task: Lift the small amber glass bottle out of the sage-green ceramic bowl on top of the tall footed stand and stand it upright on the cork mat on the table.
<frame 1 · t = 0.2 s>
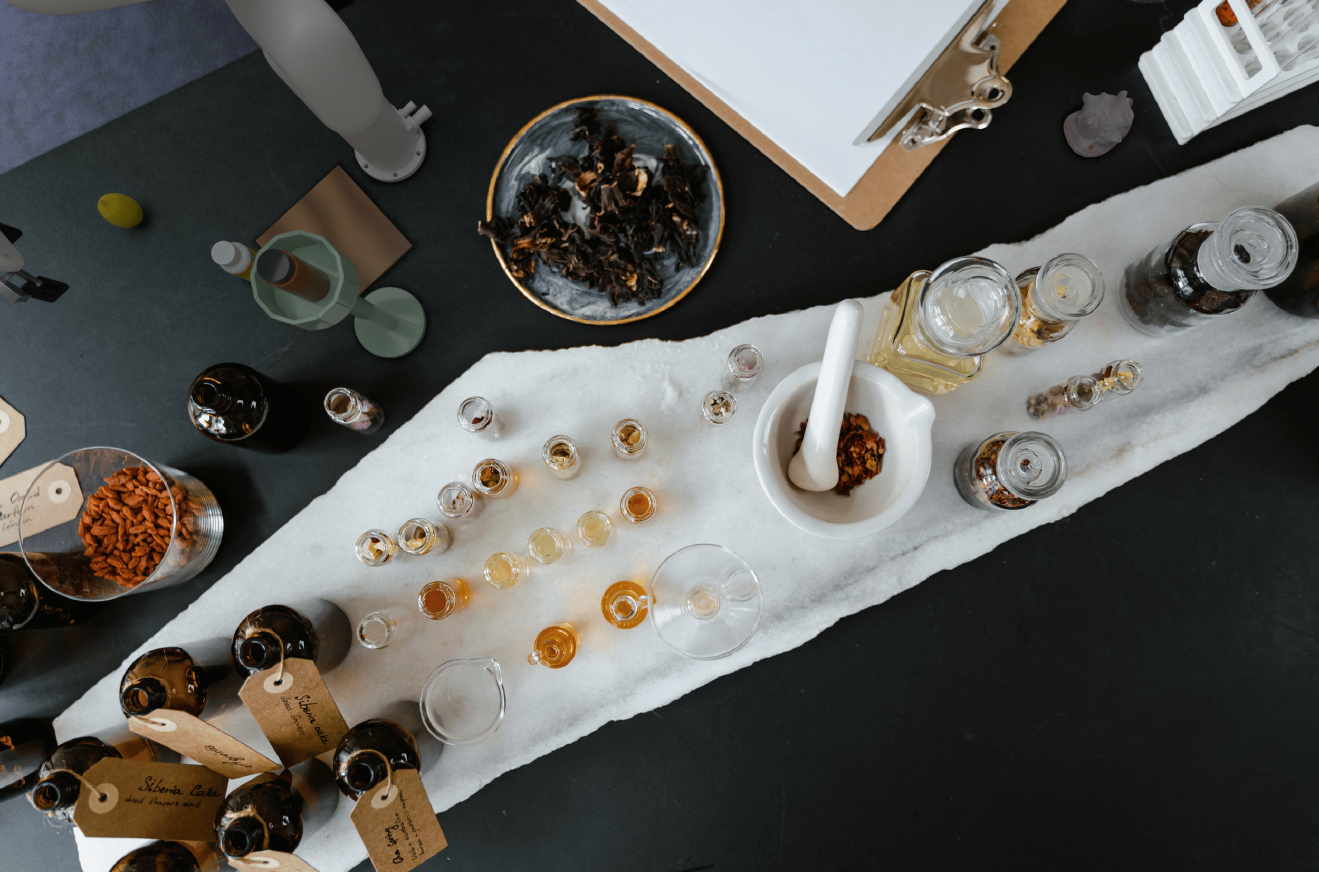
hand: (37, 266, 87), 31 cm above the table, tool pointing down, fingers open, 9 cm apart
seashell: (1094, 126, 115), on the table
supplement bottle: (260, 269, 118), on the table
fruit: (140, 219, 119), on the table
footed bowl: (391, 323, 117), on the table
amber bottle: (313, 285, 92), point 25 cm above the table, touching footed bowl
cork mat: (335, 244, 118), on the table
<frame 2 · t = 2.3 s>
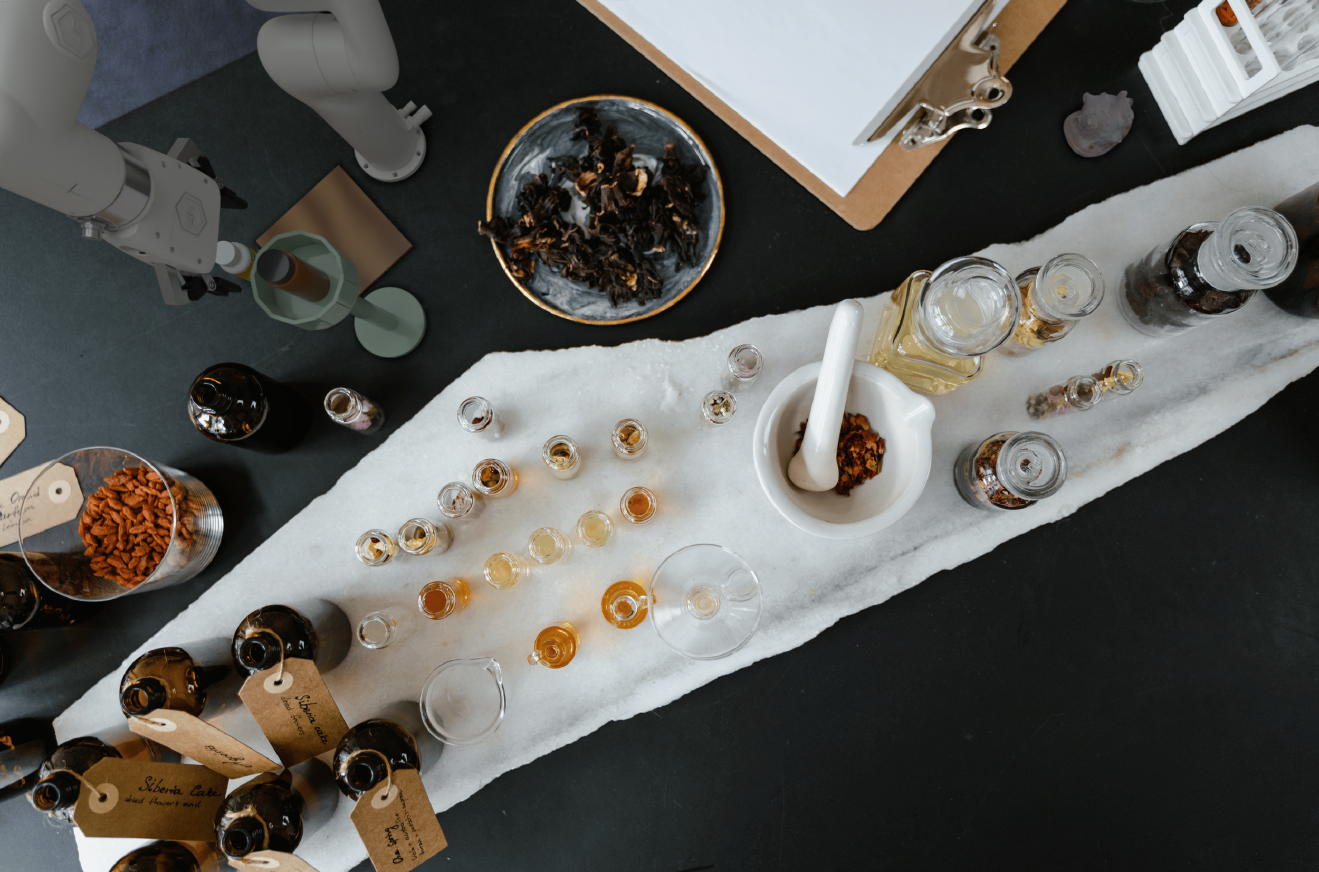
hand: (232, 247, 75), 42 cm above the table, tool pointing down, fingers open, 9 cm apart
nothing on the table moved.
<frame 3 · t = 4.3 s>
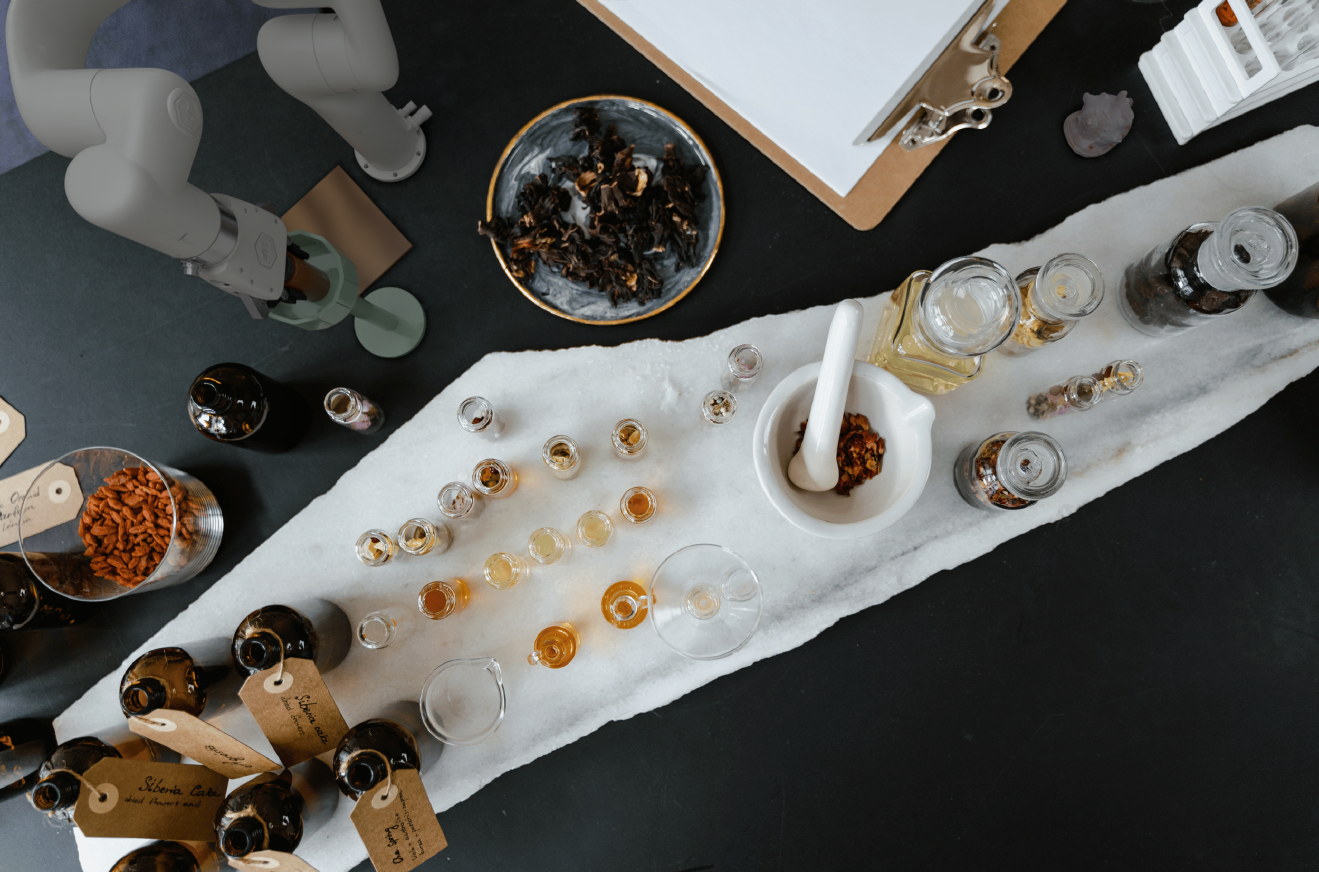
hand: (296, 276, 88), 29 cm above the table, tool pointing down, fingers closed on amber bottle, 4 cm apart
amber bottle: (313, 284, 92), point 25 cm above the table, touching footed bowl, gripper
everything else where it was.
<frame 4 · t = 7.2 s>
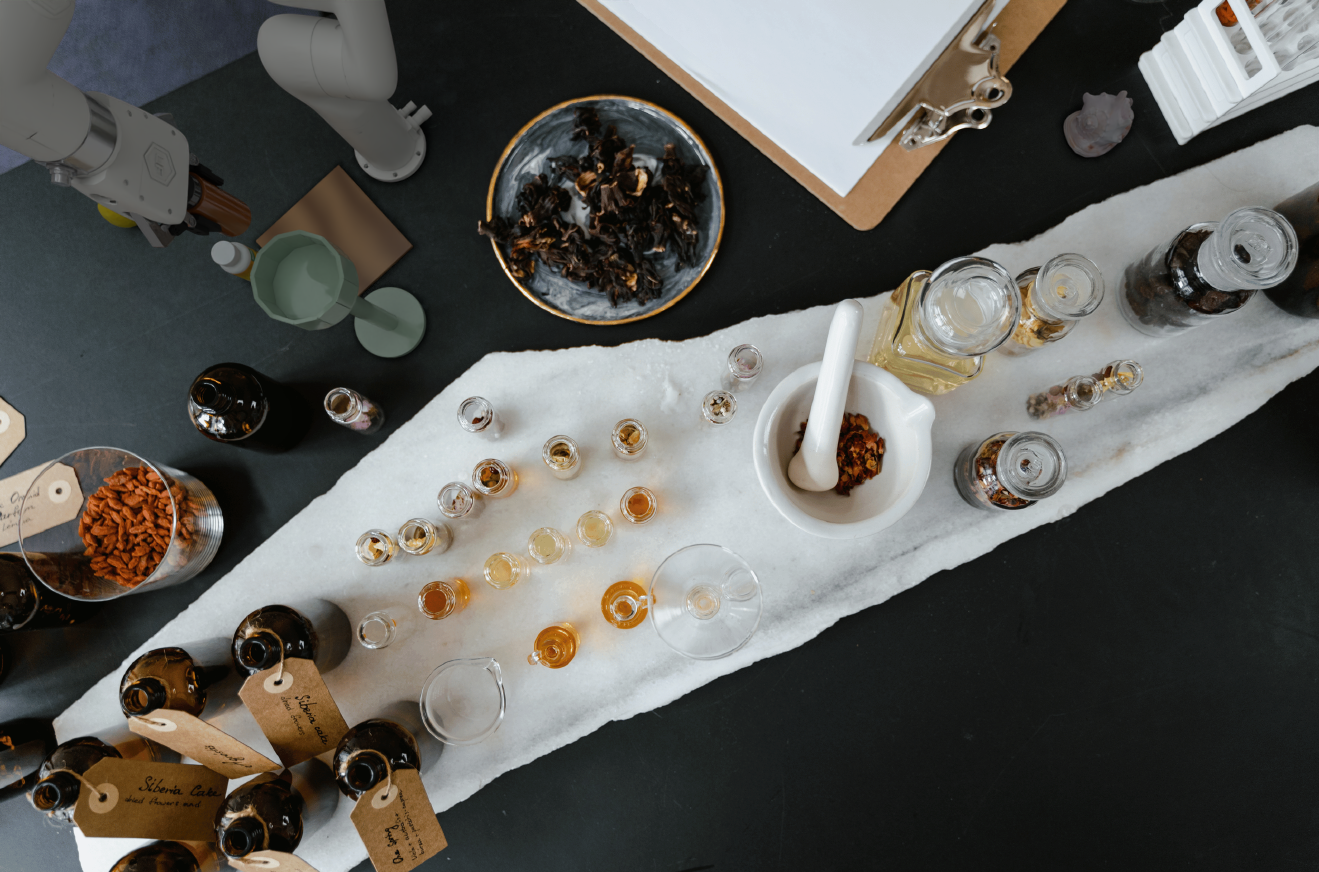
hand: (209, 205, 78), 39 cm above the table, tool pointing down, fingers closed on amber bottle, 4 cm apart
amber bottle: (232, 217, 82), point 35 cm above the table, touching gripper
everything else where it was.
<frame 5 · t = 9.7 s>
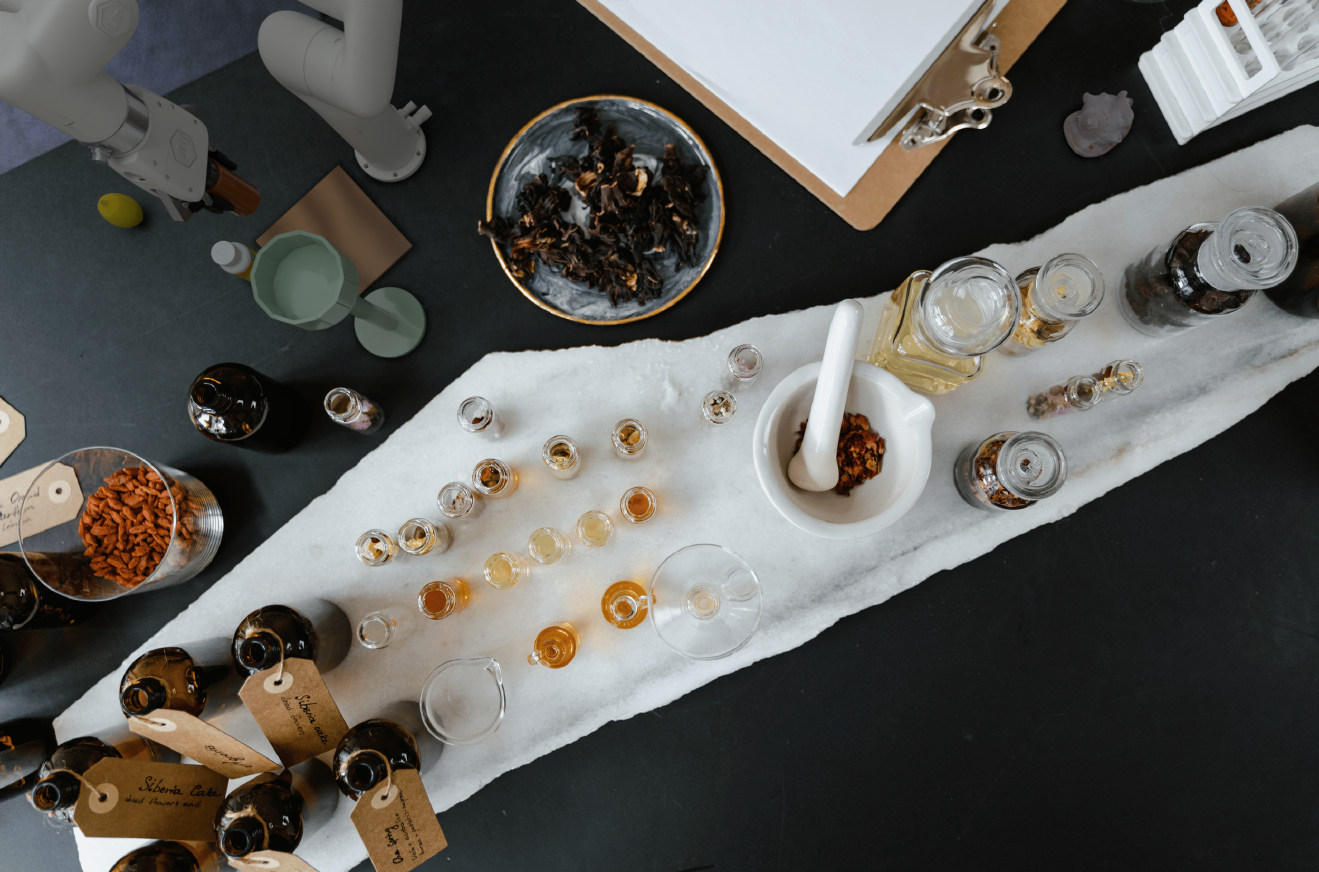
hand: (224, 187, 88), 29 cm above the table, tool pointing down, fingers closed on amber bottle, 4 cm apart
amber bottle: (243, 199, 92), point 25 cm above the table, touching gripper
everything else where it was.
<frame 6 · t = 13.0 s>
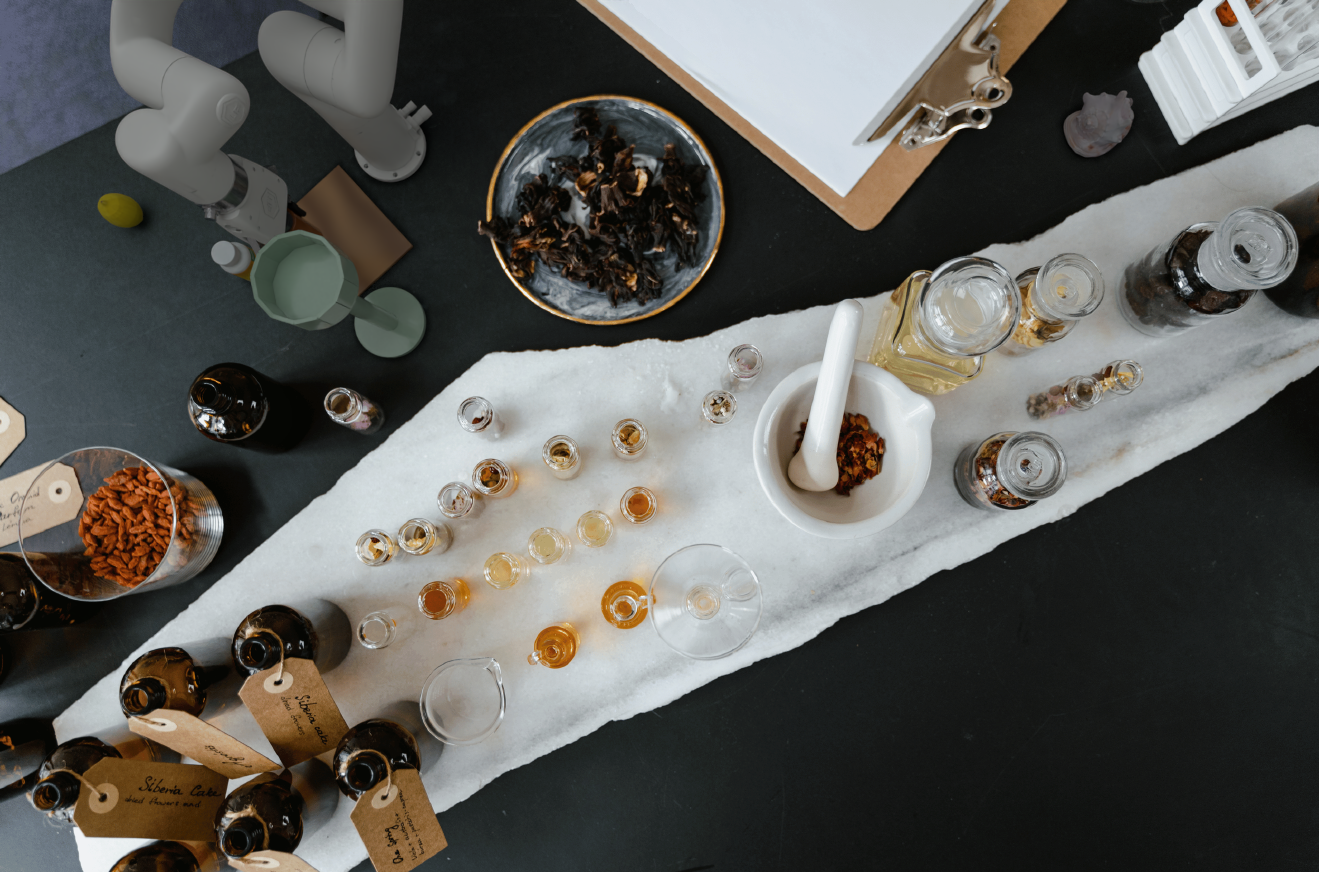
hand: (295, 231, 105), 13 cm above the table, tool pointing down, fingers closed on amber bottle, 4 cm apart
amber bottle: (309, 239, 109), point 9 cm above the table, touching gripper
everything else where it was.
when the fingers open (5 cm above the table, at t = 15.4 s): amber bottle stays where it is, resting on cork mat.
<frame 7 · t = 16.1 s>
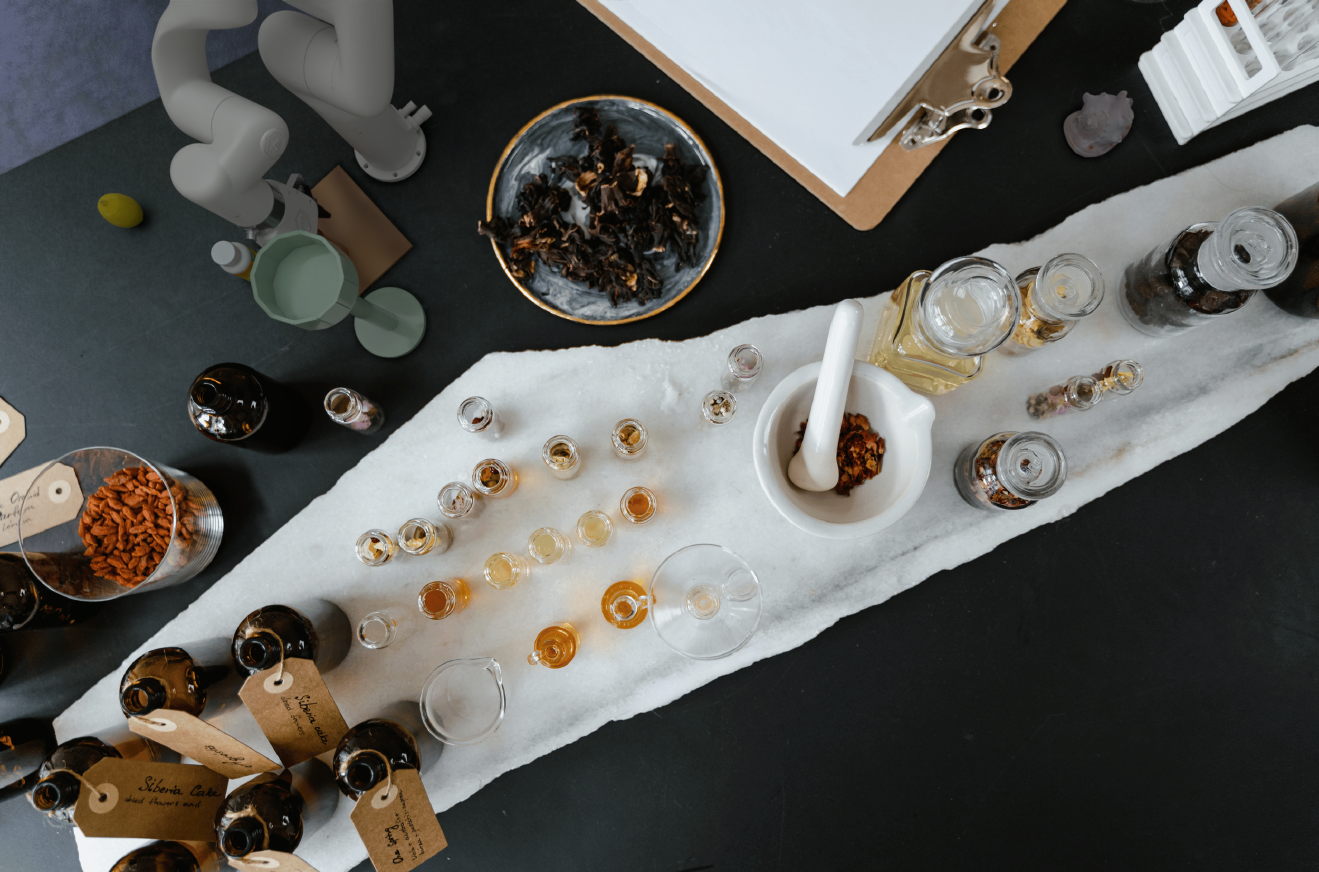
hand: (321, 244, 112), 6 cm above the table, tool pointing down, fingers open, 9 cm apart
amber bottle: (336, 256, 117), point 1 cm above the table, touching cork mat
everything else where it was.
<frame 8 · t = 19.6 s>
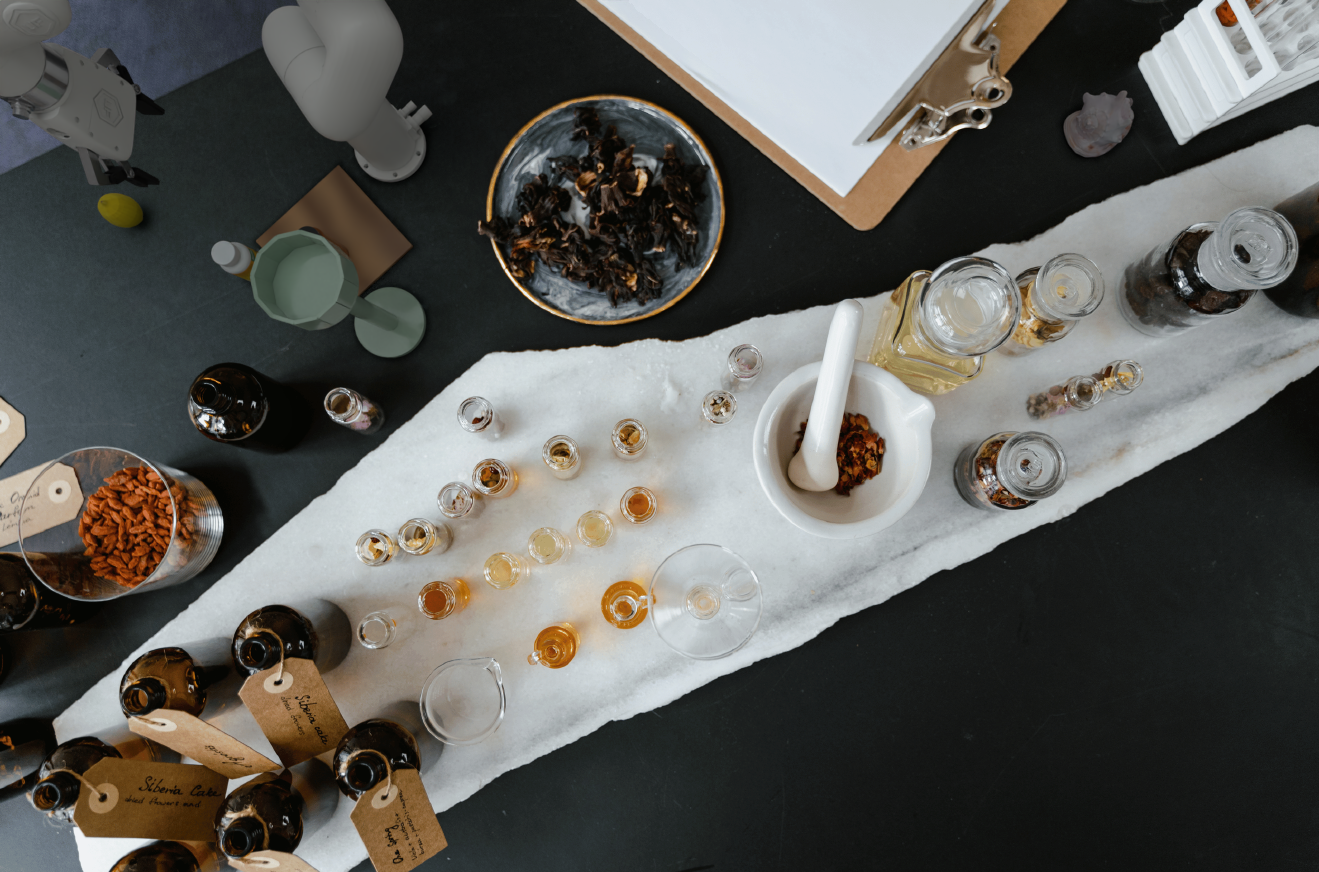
hand: (152, 147, 90), 28 cm above the table, tool pointing down, fingers open, 9 cm apart
nothing on the table moved.
at the end: amber bottle inside the target area on the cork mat (2.4 cm from its centre), point 0.6 cm above the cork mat's base; amber bottle tilted 0° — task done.
